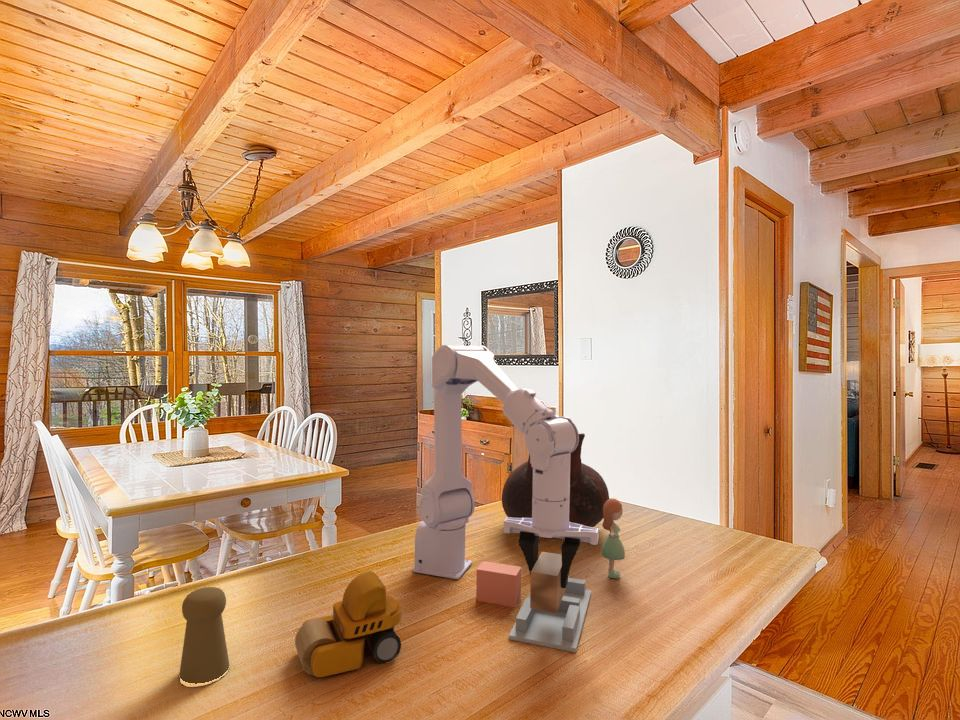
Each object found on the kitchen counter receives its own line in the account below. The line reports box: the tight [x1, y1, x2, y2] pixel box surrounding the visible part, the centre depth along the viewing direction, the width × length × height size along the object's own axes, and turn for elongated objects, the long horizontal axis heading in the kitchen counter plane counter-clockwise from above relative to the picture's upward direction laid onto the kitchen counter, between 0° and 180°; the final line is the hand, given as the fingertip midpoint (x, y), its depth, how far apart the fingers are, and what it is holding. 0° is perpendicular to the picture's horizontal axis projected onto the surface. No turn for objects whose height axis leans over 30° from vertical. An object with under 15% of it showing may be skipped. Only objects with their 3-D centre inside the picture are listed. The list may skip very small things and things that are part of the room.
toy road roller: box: [294, 571, 402, 678], centre depth 75 cm, size 9×14×10 cm, turn 119°
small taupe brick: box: [529, 551, 566, 613], centre depth 82 cm, size 4×8×6 cm, turn 161°
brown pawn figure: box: [178, 586, 230, 684], centre depth 70 cm, size 6×6×11 cm
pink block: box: [475, 560, 522, 608], centre depth 92 cm, size 7×4×6 cm, turn 72°
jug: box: [501, 433, 610, 540], centre depth 125 cm, size 25×25×25 cm
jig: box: [508, 577, 592, 653], centre depth 87 cm, size 10×19×3 cm, turn 161°
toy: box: [600, 497, 626, 579], centre depth 101 cm, size 13×4×15 cm, turn 168°
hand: (549, 583), depth 83 cm, fingers closed on small taupe brick, 4 cm apart
